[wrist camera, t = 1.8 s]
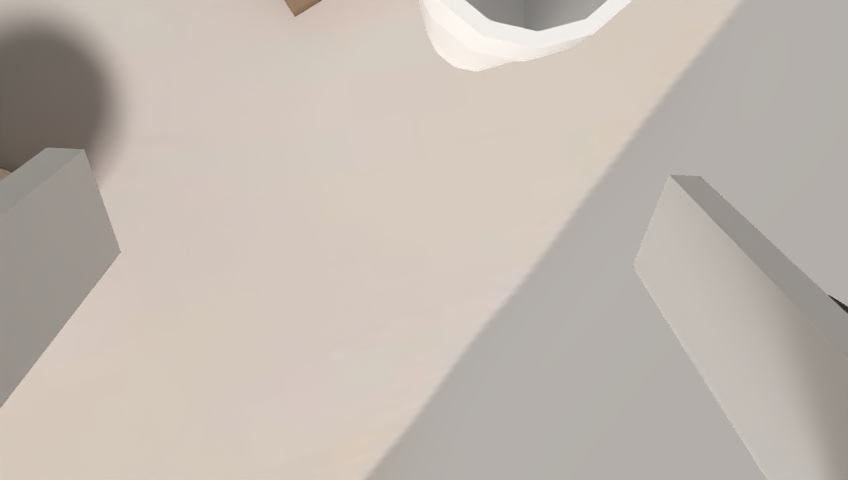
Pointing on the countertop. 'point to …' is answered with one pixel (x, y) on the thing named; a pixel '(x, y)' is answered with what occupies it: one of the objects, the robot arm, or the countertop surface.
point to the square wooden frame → (300, 5)
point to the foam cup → (511, 28)
